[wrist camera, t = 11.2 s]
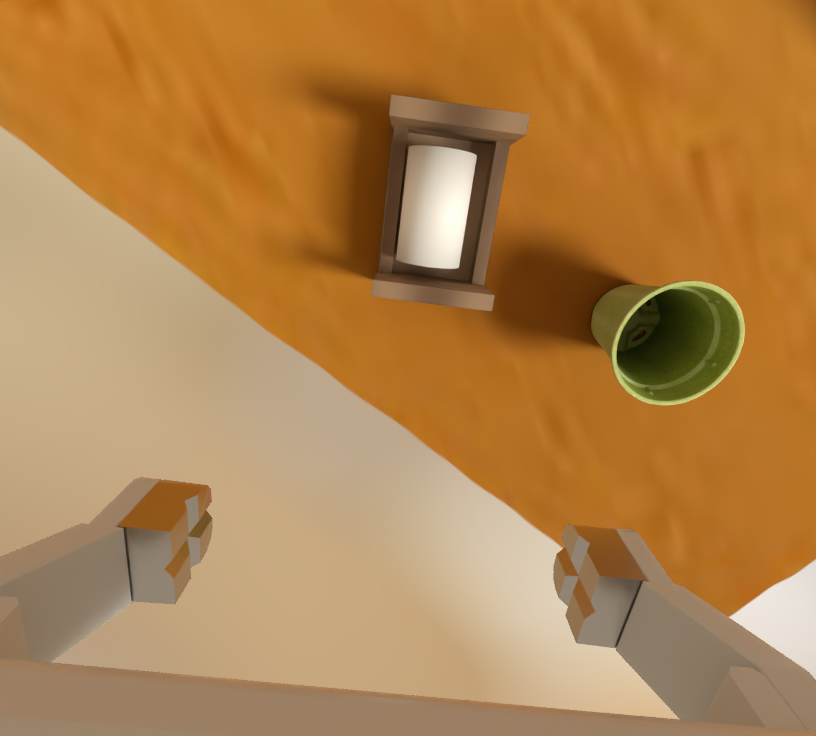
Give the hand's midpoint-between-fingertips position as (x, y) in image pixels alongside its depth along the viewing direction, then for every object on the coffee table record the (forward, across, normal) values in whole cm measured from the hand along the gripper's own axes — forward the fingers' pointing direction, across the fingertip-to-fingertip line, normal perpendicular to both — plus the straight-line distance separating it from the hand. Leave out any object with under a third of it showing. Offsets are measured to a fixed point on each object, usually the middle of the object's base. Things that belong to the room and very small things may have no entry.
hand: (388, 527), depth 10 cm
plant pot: (+31, -20, 0) cm, 37 cm away
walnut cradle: (+31, -2, -7) cm, 32 cm away
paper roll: (+30, -2, -7) cm, 31 cm away
